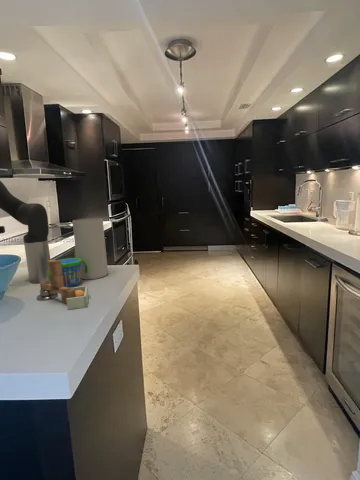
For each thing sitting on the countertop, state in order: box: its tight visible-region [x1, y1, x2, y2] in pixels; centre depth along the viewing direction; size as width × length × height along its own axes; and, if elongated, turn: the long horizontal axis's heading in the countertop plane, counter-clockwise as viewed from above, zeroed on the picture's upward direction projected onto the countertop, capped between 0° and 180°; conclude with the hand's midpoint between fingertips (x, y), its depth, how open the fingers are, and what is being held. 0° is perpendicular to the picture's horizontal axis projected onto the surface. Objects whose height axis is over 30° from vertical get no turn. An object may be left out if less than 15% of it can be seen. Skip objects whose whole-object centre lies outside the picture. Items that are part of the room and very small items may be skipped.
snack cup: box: [47, 257, 88, 288], centre depth 118 cm, size 16×10×10 cm
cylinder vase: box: [72, 217, 109, 280], centre depth 129 cm, size 12×12×25 cm
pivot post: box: [36, 289, 59, 302], centre depth 106 cm, size 7×7×3 cm
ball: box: [75, 290, 84, 297], centre depth 99 cm, size 4×4×4 cm
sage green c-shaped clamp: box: [66, 285, 90, 311], centre depth 99 cm, size 12×6×4 cm, turn 15°
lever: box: [39, 259, 76, 305], centre depth 101 cm, size 18×4×14 cm, turn 54°
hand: (4, 229), depth 93 cm, fingers closed
